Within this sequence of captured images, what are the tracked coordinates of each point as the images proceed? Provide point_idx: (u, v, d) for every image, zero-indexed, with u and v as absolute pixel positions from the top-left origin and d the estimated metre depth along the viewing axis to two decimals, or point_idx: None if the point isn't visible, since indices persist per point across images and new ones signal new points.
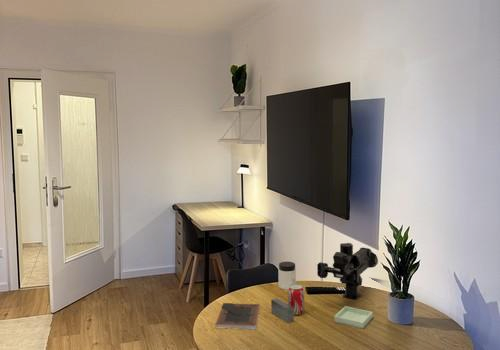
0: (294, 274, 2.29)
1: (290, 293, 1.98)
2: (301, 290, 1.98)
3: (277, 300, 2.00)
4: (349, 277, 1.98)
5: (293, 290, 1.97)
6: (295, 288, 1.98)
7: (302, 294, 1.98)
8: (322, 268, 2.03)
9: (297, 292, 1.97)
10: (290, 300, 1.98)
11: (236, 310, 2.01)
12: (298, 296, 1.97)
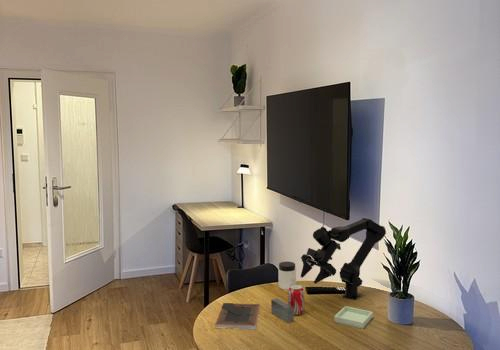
0: (294, 274, 2.29)
1: (290, 293, 1.98)
2: (301, 290, 1.98)
3: (277, 300, 2.00)
4: (325, 272, 2.00)
5: (293, 290, 1.97)
6: (295, 288, 1.98)
7: (302, 294, 1.98)
8: (303, 264, 2.09)
9: (297, 292, 1.97)
10: (290, 300, 1.98)
11: (236, 310, 2.01)
12: (298, 296, 1.97)
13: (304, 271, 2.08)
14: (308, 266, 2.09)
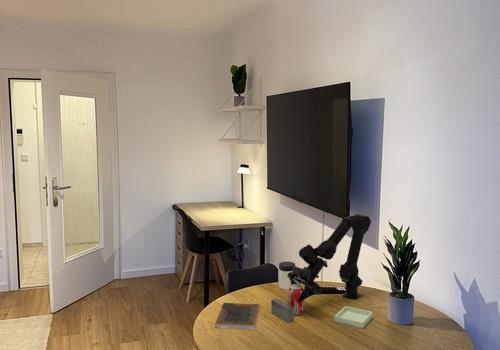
0: None
1: (290, 293, 1.98)
2: (301, 290, 1.98)
3: (277, 300, 2.00)
4: (309, 290, 1.97)
5: (293, 290, 1.98)
6: (295, 288, 1.98)
7: None
8: (291, 283, 2.05)
9: (297, 292, 1.97)
10: (290, 300, 1.98)
11: (236, 310, 2.01)
12: (298, 296, 1.97)
13: None
14: None
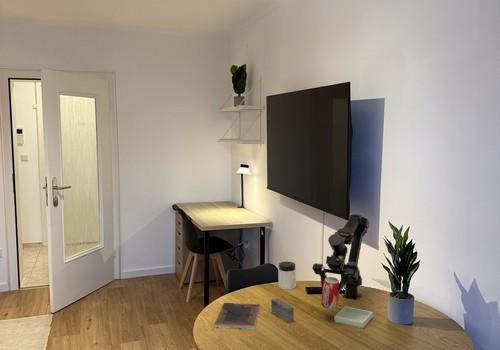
0: (294, 274, 2.29)
1: (329, 288, 1.89)
2: (338, 283, 1.91)
3: (277, 300, 2.00)
4: (345, 278, 1.92)
5: (332, 284, 1.89)
6: (333, 282, 1.90)
7: None
8: (321, 274, 1.95)
9: (336, 286, 1.89)
10: (328, 295, 1.90)
11: (236, 310, 2.01)
12: (337, 290, 1.90)
13: None
14: (325, 276, 1.97)
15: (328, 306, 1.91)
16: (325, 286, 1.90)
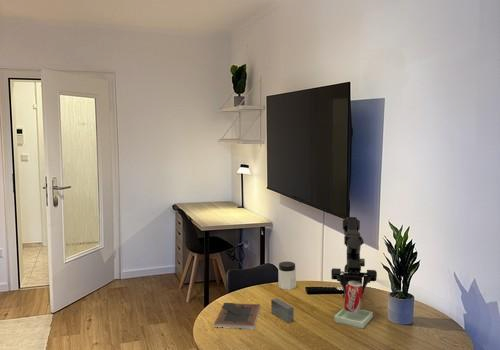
0: (294, 274, 2.29)
1: (355, 292, 1.88)
2: (361, 286, 1.91)
3: (277, 300, 2.00)
4: None
5: (358, 288, 1.89)
6: (357, 285, 1.90)
7: None
8: (342, 279, 1.93)
9: (361, 289, 1.89)
10: (354, 299, 1.89)
11: (236, 310, 2.01)
12: (361, 293, 1.90)
13: (345, 286, 1.93)
14: None
15: (354, 310, 1.90)
16: (350, 290, 1.89)
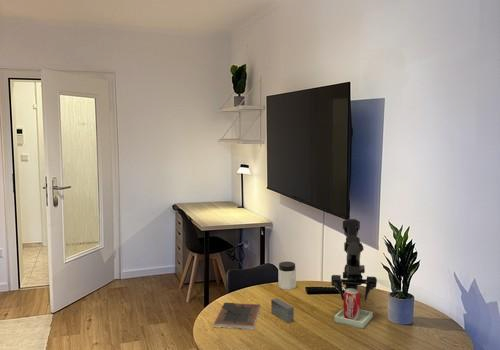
0: (294, 274, 2.29)
1: (352, 299, 1.89)
2: (358, 293, 1.92)
3: (277, 300, 2.00)
4: None
5: (355, 295, 1.90)
6: (354, 292, 1.91)
7: None
8: (339, 285, 1.94)
9: (358, 295, 1.90)
10: (352, 306, 1.89)
11: (236, 310, 2.01)
12: (359, 299, 1.91)
13: (342, 293, 1.93)
14: None
15: (353, 317, 1.90)
16: (348, 298, 1.90)
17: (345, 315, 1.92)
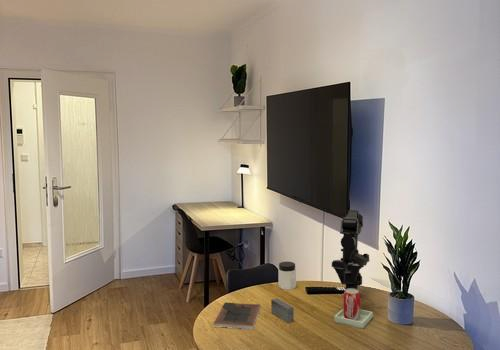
0: (294, 274, 2.29)
1: (352, 299, 1.89)
2: None
3: (277, 300, 2.00)
4: None
5: (355, 295, 1.90)
6: (354, 292, 1.91)
7: None
8: (344, 271, 1.96)
9: (358, 295, 1.90)
10: (352, 306, 1.89)
11: (236, 310, 2.01)
12: (359, 299, 1.91)
13: None
14: None
15: (353, 317, 1.90)
16: (348, 298, 1.90)
17: (345, 315, 1.92)
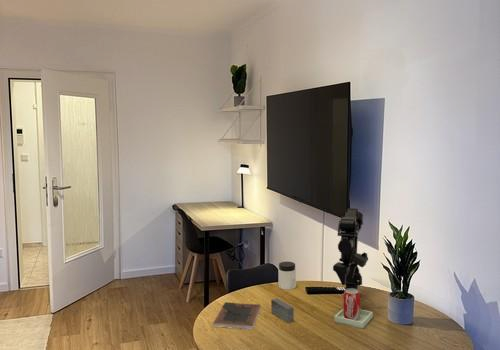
0: (294, 274, 2.29)
1: (352, 299, 1.89)
2: (358, 293, 1.92)
3: (277, 300, 2.00)
4: None
5: (355, 295, 1.90)
6: (354, 292, 1.91)
7: None
8: (346, 274, 1.95)
9: (358, 295, 1.90)
10: (352, 306, 1.89)
11: (236, 310, 2.01)
12: (359, 299, 1.91)
13: None
14: None
15: (353, 317, 1.90)
16: (348, 298, 1.90)
17: (345, 315, 1.92)
